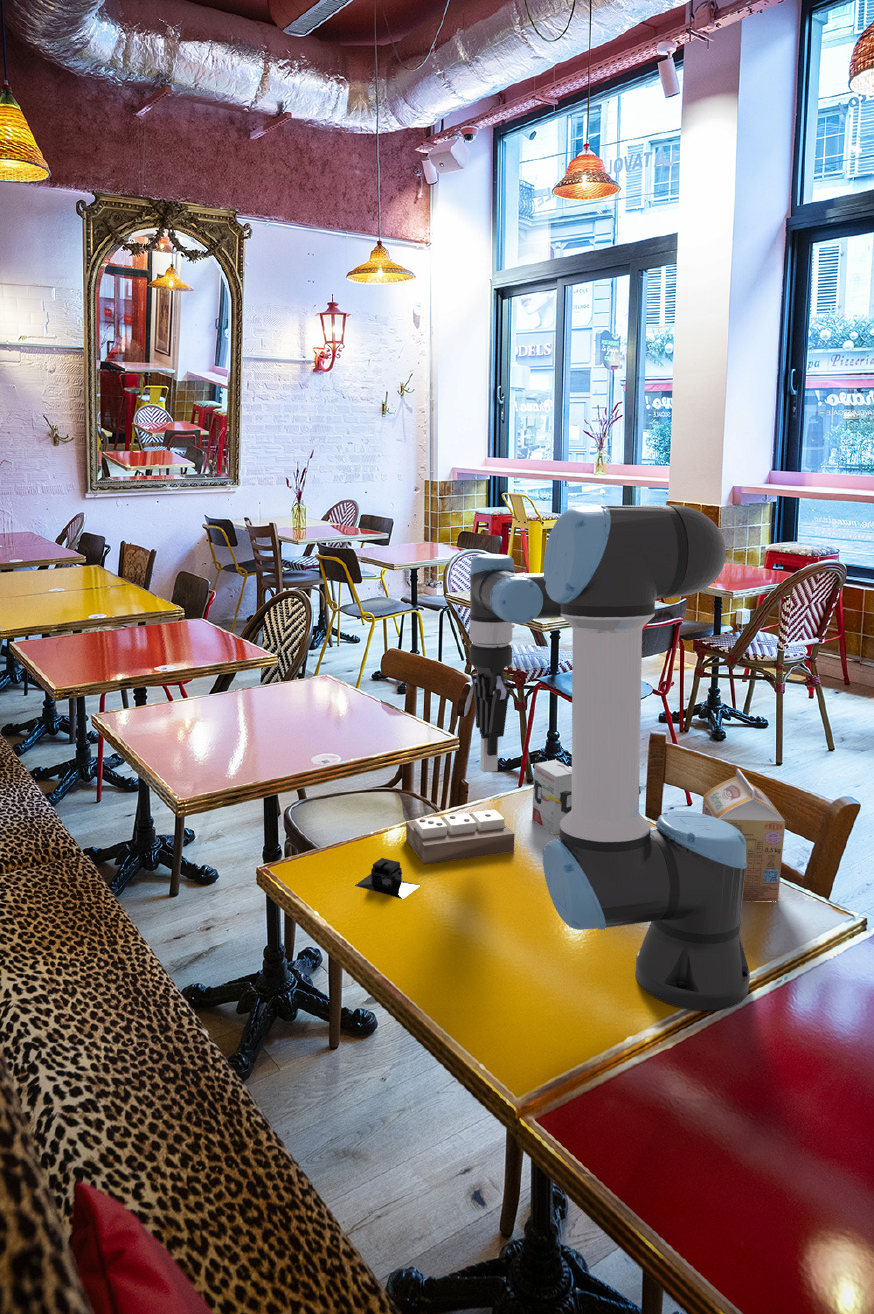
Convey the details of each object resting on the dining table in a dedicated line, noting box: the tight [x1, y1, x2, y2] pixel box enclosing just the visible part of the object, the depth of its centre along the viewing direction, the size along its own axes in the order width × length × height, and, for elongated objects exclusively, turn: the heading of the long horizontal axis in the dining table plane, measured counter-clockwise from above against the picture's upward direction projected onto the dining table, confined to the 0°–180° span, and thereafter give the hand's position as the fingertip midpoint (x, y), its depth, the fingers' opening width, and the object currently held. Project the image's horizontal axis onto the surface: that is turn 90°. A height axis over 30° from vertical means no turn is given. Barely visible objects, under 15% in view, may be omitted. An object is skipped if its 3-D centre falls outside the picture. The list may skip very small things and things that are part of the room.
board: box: [405, 813, 515, 865], centre depth 174 cm, size 11×17×4 cm, turn 109°
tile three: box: [414, 816, 447, 839], centre depth 172 cm, size 5×5×5 cm
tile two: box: [443, 812, 476, 835], centre depth 173 cm, size 5×5×5 cm
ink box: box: [531, 759, 572, 835], centre depth 182 cm, size 9×5×12 cm, turn 25°
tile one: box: [471, 809, 505, 831], centre depth 175 cm, size 5×5×5 cm
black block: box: [354, 857, 421, 900], centre depth 158 cm, size 12×7×5 cm, turn 61°
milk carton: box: [701, 768, 786, 903], centre depth 156 cm, size 11×11×19 cm
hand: (488, 770), depth 172 cm, fingers closed
